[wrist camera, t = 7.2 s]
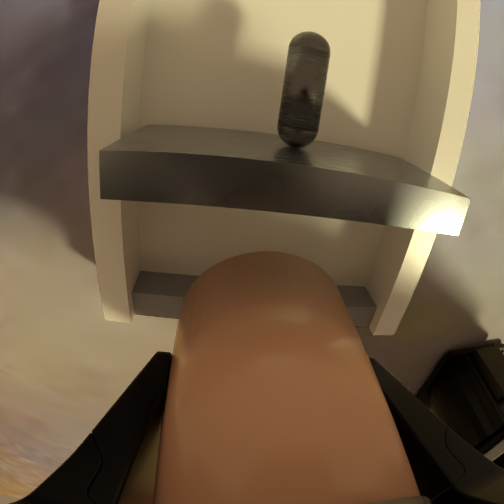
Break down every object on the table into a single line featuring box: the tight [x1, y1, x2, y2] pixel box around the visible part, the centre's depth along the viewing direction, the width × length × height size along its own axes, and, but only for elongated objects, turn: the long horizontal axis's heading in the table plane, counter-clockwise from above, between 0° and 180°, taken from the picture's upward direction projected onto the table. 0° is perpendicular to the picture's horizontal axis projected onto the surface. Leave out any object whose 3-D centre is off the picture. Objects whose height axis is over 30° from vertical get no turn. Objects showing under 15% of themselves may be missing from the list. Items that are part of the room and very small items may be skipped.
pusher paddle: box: [99, 31, 470, 236], centre depth 7 cm, size 4×8×4 cm, turn 83°
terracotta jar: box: [153, 251, 431, 504], centre depth 7 cm, size 6×6×8 cm
